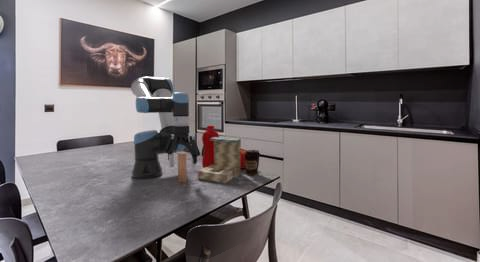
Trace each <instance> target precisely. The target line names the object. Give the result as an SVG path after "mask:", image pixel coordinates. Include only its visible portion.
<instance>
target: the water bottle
mask: <svg viewBox="0 0 480 262" xmlns="http://www.w3.org/2000/svg"><path fill="white" fill-rule="evenodd" d="M214 137H220V134H219V133H218V132H217V131H216V130H215V126H214V125H211V124H210V125H207V126H206V130H205V131H204V132H203V133H202V136H201V140H202V141H201V142H202V147H203V154H202V160H201V165H202V167H203V168H205V167H209V166H210V165H213V164H214V141H210V138H214Z"/></svg>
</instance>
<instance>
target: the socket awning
mask: <svg viewBox="0 0 480 262" xmlns="http://www.w3.org/2000/svg"><path fill="white" fill-rule="evenodd" d="M210 141H214V164H213V165H210V166H209V167H203V168H201V169H198V170H197V179H199V180H204V181H205V180H206V181H212V182H217V183H223V184H226V183H227V182H228V183H229V182H230V180H232V179H233V178H236V177H238V176H239V175H241V174H242V173H241V172H242V171H241V170H242V168H241V151H242V150H241V143H242V142H241V141H242V139H241V138H231V137H220V136H219V137H214V138H210Z"/></svg>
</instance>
